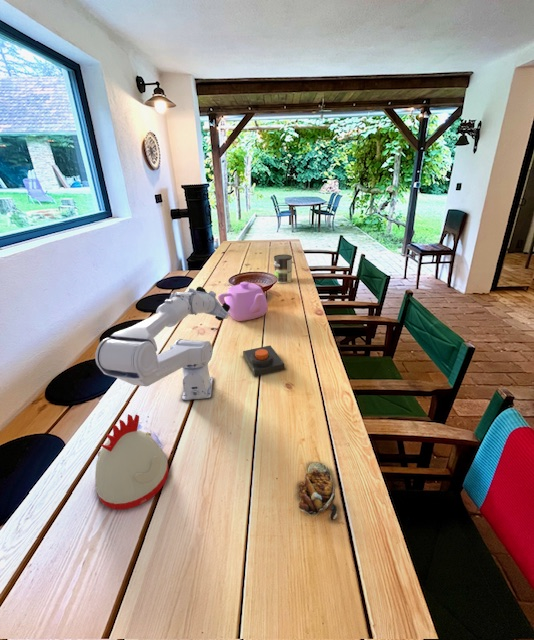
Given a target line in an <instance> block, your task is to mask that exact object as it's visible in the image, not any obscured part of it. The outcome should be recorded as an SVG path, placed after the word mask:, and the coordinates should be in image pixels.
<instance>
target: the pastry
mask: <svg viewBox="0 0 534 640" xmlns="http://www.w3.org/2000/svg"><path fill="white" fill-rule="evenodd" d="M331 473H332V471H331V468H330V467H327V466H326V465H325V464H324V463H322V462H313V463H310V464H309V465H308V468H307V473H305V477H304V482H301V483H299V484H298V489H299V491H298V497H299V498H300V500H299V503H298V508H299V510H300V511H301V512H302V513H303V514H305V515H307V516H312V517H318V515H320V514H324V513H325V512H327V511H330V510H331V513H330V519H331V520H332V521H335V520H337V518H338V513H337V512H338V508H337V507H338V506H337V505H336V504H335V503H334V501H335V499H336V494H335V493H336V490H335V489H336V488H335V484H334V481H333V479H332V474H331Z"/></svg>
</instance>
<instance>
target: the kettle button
mask: <svg viewBox="0 0 534 640" xmlns="http://www.w3.org/2000/svg"><path fill="white" fill-rule="evenodd" d="M255 356H256V359H258V360H264V359H267V358H268V351H267V350H265V349H259V350H257V351H256V352H255Z"/></svg>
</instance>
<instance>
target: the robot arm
mask: <svg viewBox="0 0 534 640" xmlns="http://www.w3.org/2000/svg"><path fill="white" fill-rule="evenodd" d="M216 297H217V293H216V292H214V291H213V290H210V291H209V292H207V290H206V289H205V288H204V287H202V286H197V287H196V289H195V288H191V287H189V288H188V291H173V292H171V294H170V295H169V298H166V299H165V300H164V302H163V303H162V304H160V305H159V306H158V307H157V309H156V311H155V314H153V315H151V316H149V317H147V318H146V319H144V320H142V321H140V322H137V323H136V324H134V325H132V326H128V327H127V328H123V329H120V330H118V331H115V332H113V333H112V334H111V335H110V337H106V338H104V339H102V340H101V341H100V343H98V345H97V347H96V350H95V354H94V359H95V364H96V366H97V367H98V368H99V370H100V371H101V372H102V373H103V375H105V376H108V377H112V378H115V379H118V380H120V381H124V382H125V383H128V384H130V385H133V386H138V387H139V386H140V387H150V386H151V385H153V384H154V383H157V382H158V381H160V380H163V379H164V378H166V377H168V376H169V375H172V374H174V373H175V372H176V371H178V370H180V369H182V374H183V377H182V387H183V392H182V397H181V400H182V401H189V400H200V399H210V398H212V390H213V382H214V381H213V380H214V378H213V377H210V370H209V364H208V363H209V362H210V361H211V360H212V357H213V353H214V350H213V349H214V348H213V344H212V343H211V341H209V340H205V341H203V340H193V339H192V340H191V339H183V338H178V339H176V341H174V343H173V344H171V345H170V348H169V349H168V350H166V351H163V352H161V353H159V354H157V351H158V345H157V343H156V341H155V337H156V336H157V335H159V334H160V333H161V332H162V331H163V330H164V329H165V328H166V327H167V328H172V327H175V326H176V325H178V324H179V323H180V322H182V321H183V320H184V319H185V318H186V317H188V316H189V315H194V316H197V315H198V314H206V315H210V316H215V317H214V318H215V319H216V320H218V321H220V322H221V321H223V320H226V319H228V318H229V317H230V316H229V314H230V313H229V312H228V311H229V309H230V306H229V305H228V304H226V303H225V302H224V304H223V305H222V304H221V303H220V301H219V299H218V298H216ZM113 337H114V338H113Z"/></svg>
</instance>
